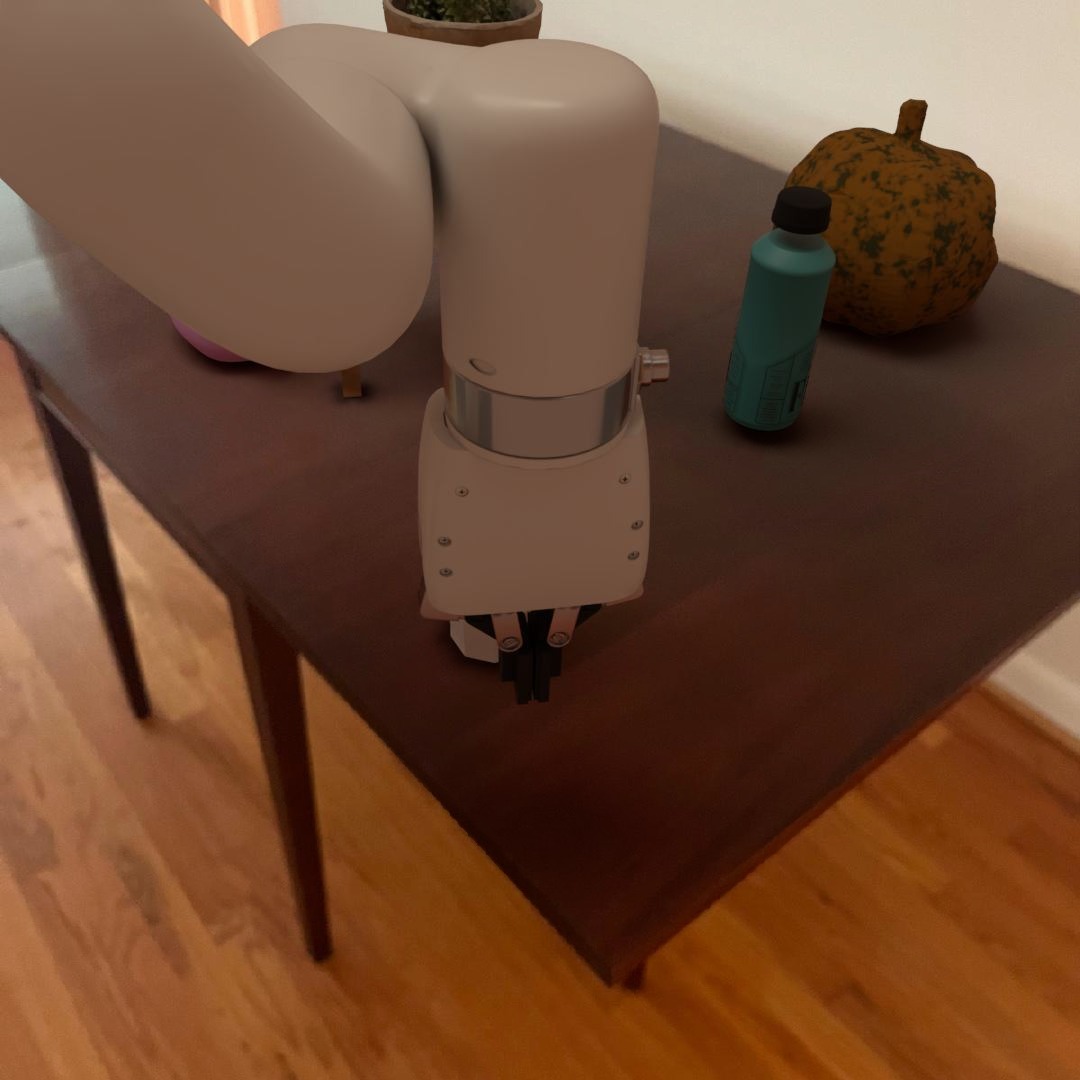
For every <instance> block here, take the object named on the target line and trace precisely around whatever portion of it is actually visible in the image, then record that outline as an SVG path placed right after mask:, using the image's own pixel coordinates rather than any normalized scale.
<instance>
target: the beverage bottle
mask: <svg viewBox="0 0 1080 1080" xmlns="http://www.w3.org/2000/svg"><path fill="white" fill-rule="evenodd" d="M783 188H784V187H783ZM783 188H782V189H781V190H780V191H779V192H778V193H777V196H776V200H775V203H774V207H773V209H772V213H771V217H770V220H771V222H772V224H773V225H775V226H777V227H778V229H775V230H772V229H771V231H768V232H766V233H765V234H764V235H762V236H760V237H759V238H758V239H756V240H755V241H754V242H753V244H752V245H751V248H750V257H749V262H748V268H747V274H746V279H745V284H744V290H743V294H742V299H741V306H740V308H739V310H738V312H739V314H737V316H736V320H737V323H736V324H737V325H736V326H735V329H734V331H733V332H735V334H734V336H733V341H732V348H731V349H732V350H731V351H730V353H729V362H728V365H727V366H728V367H727V372H726V377H725V382H724V389H723V393H724V396H723V397H722V402H723V405H724V410H725V412H726V413H727V415H728V416H729V417H730V418H731V419H732V420H733V421H735V422H736V423H738V424H740V426H741V425H742V426H743V427H746V428H749V429H752V430H758V431H767V432H768V431H769V432H770V431H778V430H779V431H780V430H782V429H785V428H788V427H789V426H791V425H792V424H793V423H794V422H795V421H796V419H797V418H798V417H799V416H800V415H801V413H800V412H802V406H803V404H804V401H805V398H806V393H807V392H806V391H807V389H808V388H807V387H808V383H809V379H810V375H811V374H810V371H811V370H812V367H813V365H814V360H815V356H816V355H815V354H816V352H817V347H818V343H817V342H819V339H818V335H819V333H820V332H821V330H820V329H821V324H822V319H823V318H822V317H824V316H822V315H823V309H824V304H825V300H826V296H827V292H828V287H829V283H830V279H831V275H832V270H833V268H834V266H835V262H836V257H835V254H834V252H833V250H832V249H831V247H830V246H829V245H828V243H827V242H826V241H825V240H824V239H823V238H822V237H821V236H820V235H818V234H819V233H822V232H824V231H826V230H827V229H828V226H829V222H830V213H831V206H832V199H831V197H830V196H829V195H828V194H826V193H825V192H823V191H821V190H818V189H815V188H811V187H806V186H792V187H787V188H784V189H783ZM737 317H738V319H737Z"/></svg>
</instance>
